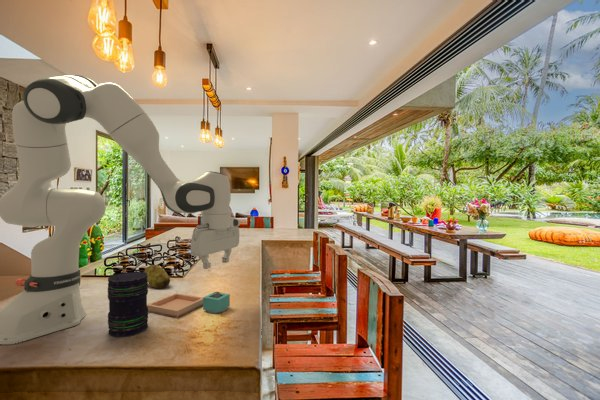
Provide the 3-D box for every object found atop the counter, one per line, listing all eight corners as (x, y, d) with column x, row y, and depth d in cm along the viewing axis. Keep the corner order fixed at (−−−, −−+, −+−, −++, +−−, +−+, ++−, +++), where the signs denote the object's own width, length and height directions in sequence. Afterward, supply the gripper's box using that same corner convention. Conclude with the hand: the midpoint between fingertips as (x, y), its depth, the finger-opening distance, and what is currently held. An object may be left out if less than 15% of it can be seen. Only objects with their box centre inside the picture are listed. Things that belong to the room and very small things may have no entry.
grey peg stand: (218, 314, 99) (218, 297, 99) (200, 311, 102) (200, 294, 101) (231, 307, 105) (231, 291, 105) (214, 304, 108) (214, 288, 108)
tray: (177, 318, 96) (177, 311, 96) (145, 311, 101) (145, 304, 101) (205, 304, 108) (205, 297, 108) (176, 298, 113) (176, 292, 113)
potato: (148, 292, 121) (148, 271, 120) (142, 284, 131) (141, 264, 131) (171, 288, 125) (171, 268, 125) (163, 280, 136) (163, 262, 136)
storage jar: (139, 319, 95) (138, 269, 95) (154, 328, 89) (154, 275, 88) (102, 330, 87) (101, 276, 87) (116, 341, 81) (115, 283, 81)
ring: (218, 312, 100) (218, 299, 99) (203, 309, 102) (203, 297, 102) (229, 306, 105) (229, 294, 105) (214, 303, 107) (214, 291, 107)
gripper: (202, 226, 91) (202, 274, 91) (242, 220, 110) (242, 260, 110) (185, 225, 94) (185, 271, 94) (227, 219, 112) (227, 258, 113)
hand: (216, 265), depth 102 cm, fingers open, 8 cm apart
